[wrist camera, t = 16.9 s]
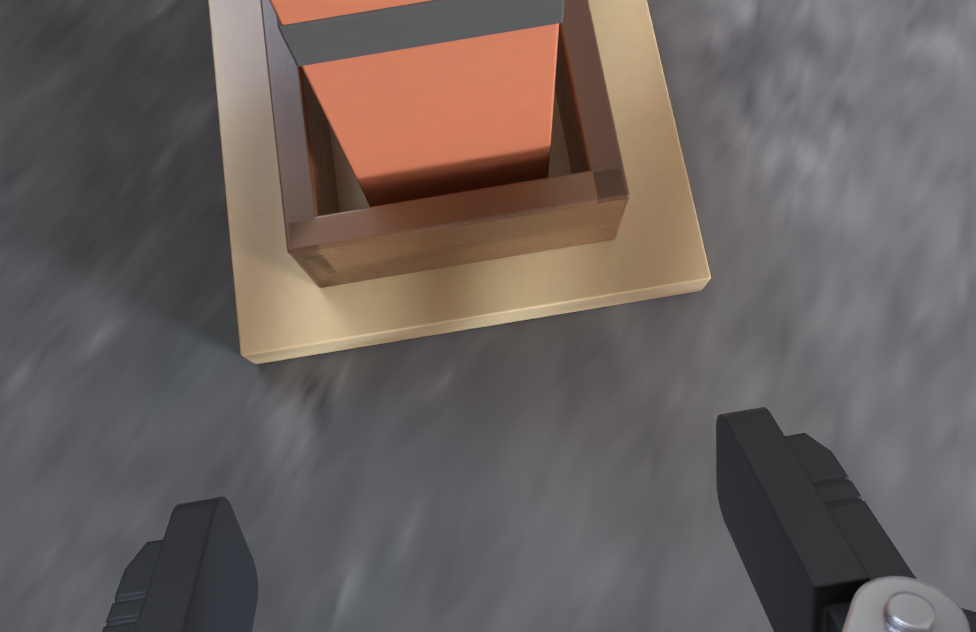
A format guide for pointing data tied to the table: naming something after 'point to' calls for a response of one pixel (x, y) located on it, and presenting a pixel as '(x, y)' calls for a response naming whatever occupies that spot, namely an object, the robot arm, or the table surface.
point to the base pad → (450, 201)
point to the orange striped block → (431, 88)
